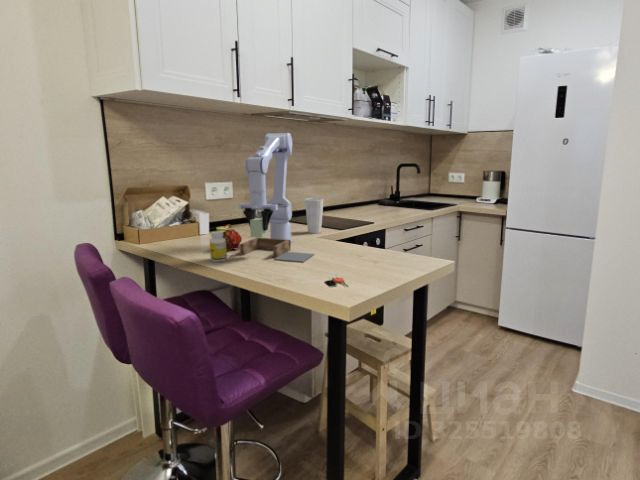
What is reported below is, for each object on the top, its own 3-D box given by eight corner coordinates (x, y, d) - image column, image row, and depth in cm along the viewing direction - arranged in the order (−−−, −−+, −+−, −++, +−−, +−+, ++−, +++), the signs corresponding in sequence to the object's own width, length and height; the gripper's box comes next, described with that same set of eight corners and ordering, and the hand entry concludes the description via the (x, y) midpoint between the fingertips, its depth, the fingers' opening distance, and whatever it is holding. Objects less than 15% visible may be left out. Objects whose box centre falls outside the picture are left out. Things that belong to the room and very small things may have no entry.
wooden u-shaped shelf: (256, 247, 163) (256, 237, 162) (290, 250, 159) (290, 239, 158) (240, 254, 152) (240, 244, 151) (276, 257, 147) (276, 246, 146)
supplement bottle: (210, 258, 146) (208, 231, 144) (225, 257, 148) (224, 230, 146) (211, 262, 142) (210, 234, 139) (228, 261, 143) (226, 233, 141)
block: (256, 234, 152) (256, 218, 150) (267, 235, 150) (267, 218, 149) (250, 236, 147) (250, 220, 146) (262, 237, 146) (261, 220, 145)
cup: (301, 232, 193) (301, 199, 190) (315, 229, 199) (315, 197, 195) (313, 234, 187) (313, 200, 184) (327, 232, 192) (327, 199, 189)
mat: (286, 252, 154) (286, 251, 154) (314, 254, 151) (314, 253, 151) (273, 260, 144) (273, 258, 144) (303, 262, 141) (303, 261, 140)
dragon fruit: (223, 257, 155) (233, 254, 167) (241, 244, 154) (249, 241, 166) (210, 238, 155) (220, 236, 167) (228, 225, 154) (237, 224, 166)
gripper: (233, 192, 144) (235, 230, 147) (271, 193, 140) (272, 232, 142) (243, 190, 151) (245, 227, 153) (280, 191, 146) (281, 229, 149)
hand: (259, 229), depth 148 cm, fingers closed on block, 4 cm apart
